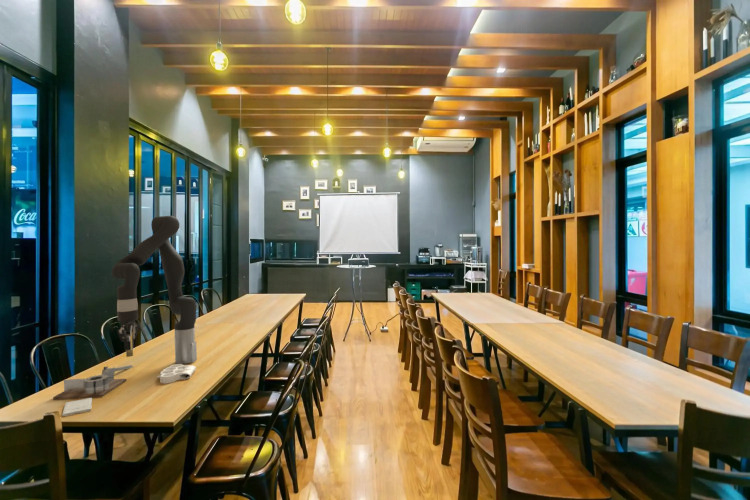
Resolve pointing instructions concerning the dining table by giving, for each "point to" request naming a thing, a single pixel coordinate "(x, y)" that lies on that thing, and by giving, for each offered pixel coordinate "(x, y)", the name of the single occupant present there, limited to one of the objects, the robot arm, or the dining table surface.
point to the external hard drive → (77, 406)
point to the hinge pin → (130, 352)
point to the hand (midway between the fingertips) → (129, 348)
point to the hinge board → (81, 394)
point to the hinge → (90, 383)
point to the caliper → (116, 368)
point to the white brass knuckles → (176, 373)
